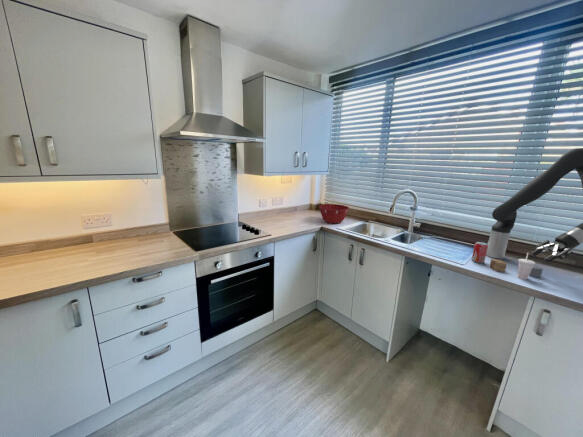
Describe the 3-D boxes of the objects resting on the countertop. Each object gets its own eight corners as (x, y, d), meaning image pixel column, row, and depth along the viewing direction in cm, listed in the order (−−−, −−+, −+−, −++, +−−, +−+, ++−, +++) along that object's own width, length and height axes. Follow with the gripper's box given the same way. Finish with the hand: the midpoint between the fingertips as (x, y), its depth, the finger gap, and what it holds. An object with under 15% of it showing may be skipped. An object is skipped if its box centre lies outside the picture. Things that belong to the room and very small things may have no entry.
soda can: (477, 263, 145) (481, 244, 142) (468, 259, 151) (472, 241, 148) (486, 263, 145) (491, 244, 143) (478, 259, 151) (482, 241, 149)
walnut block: (489, 267, 141) (491, 259, 139) (499, 268, 140) (501, 260, 138) (494, 270, 136) (496, 262, 135) (504, 271, 135) (506, 263, 134)
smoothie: (522, 275, 131) (528, 251, 128) (534, 280, 125) (541, 255, 122) (510, 275, 131) (517, 250, 128) (522, 280, 125) (529, 255, 121)
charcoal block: (522, 272, 135) (525, 264, 134) (533, 273, 134) (535, 265, 133) (529, 276, 130) (531, 267, 129) (540, 277, 129) (542, 268, 128)
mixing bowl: (341, 227, 216) (342, 210, 212) (313, 222, 231) (313, 206, 227) (351, 221, 239) (353, 206, 236) (325, 217, 254) (326, 203, 251)
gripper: (555, 229, 126) (524, 247, 131) (580, 237, 112) (545, 257, 117) (564, 239, 126) (533, 257, 131) (591, 249, 113) (555, 268, 117)
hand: (538, 257), depth 124 cm, fingers open, 8 cm apart
